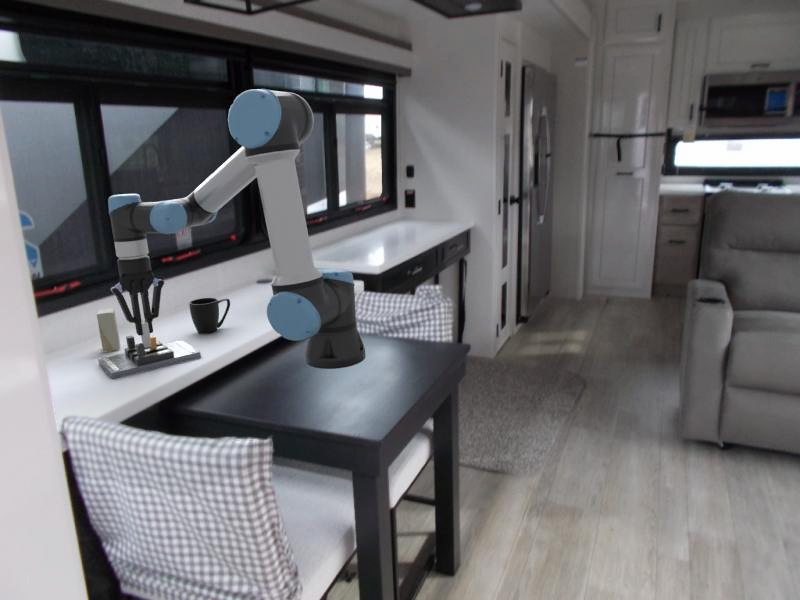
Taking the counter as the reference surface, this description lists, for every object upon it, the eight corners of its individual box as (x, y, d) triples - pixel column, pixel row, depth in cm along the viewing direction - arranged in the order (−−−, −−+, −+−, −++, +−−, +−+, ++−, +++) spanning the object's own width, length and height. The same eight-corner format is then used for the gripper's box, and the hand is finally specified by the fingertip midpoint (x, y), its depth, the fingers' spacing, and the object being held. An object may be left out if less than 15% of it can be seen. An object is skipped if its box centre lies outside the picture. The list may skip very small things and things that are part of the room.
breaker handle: (157, 348, 162) (155, 337, 161) (151, 349, 161) (149, 338, 161) (155, 346, 164) (153, 335, 163) (149, 347, 163) (147, 336, 162)
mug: (237, 329, 188) (234, 298, 185) (198, 337, 181) (194, 306, 179) (227, 323, 194) (224, 294, 192) (189, 331, 188) (185, 301, 185)
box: (104, 347, 176) (97, 309, 173) (120, 345, 178) (114, 307, 175) (102, 352, 171) (96, 314, 169) (119, 350, 173) (113, 312, 170)
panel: (200, 357, 164) (197, 334, 162) (112, 378, 151) (108, 354, 149) (183, 345, 174) (180, 323, 173) (99, 364, 162) (94, 341, 160)
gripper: (154, 251, 162) (167, 337, 168) (101, 258, 155) (117, 348, 160) (164, 254, 156) (177, 343, 162) (109, 262, 149) (124, 355, 155)
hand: (147, 345), depth 161 cm, fingers closed
